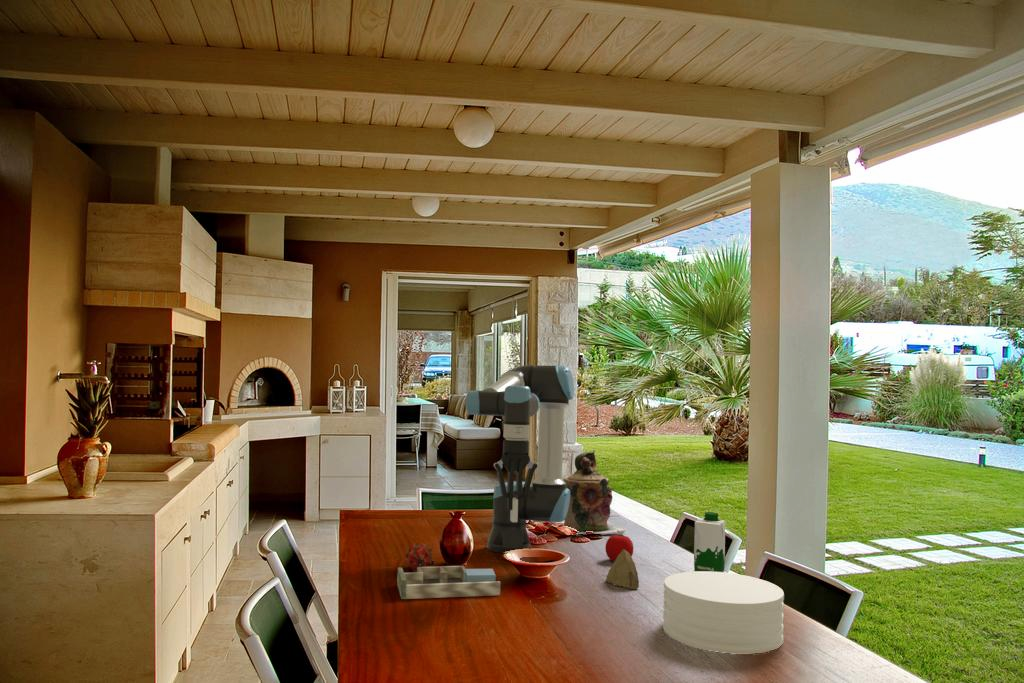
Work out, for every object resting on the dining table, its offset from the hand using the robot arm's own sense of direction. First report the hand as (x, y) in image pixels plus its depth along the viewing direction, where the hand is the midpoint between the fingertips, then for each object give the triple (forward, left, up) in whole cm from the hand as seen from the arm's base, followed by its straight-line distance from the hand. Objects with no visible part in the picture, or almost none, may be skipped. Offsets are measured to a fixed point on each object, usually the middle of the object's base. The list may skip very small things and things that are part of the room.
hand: (513, 521), depth 218 cm
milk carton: (-62, 0, -19) cm, 65 cm away
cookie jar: (-49, -76, -19) cm, 92 cm away
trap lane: (+19, -3, -19) cm, 27 cm away
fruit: (-43, -26, -19) cm, 54 cm away
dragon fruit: (+24, -23, -19) cm, 38 cm away
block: (+9, 0, -19) cm, 21 cm away
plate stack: (-42, +45, -19) cm, 64 cm away
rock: (-33, +2, -19) cm, 38 cm away
